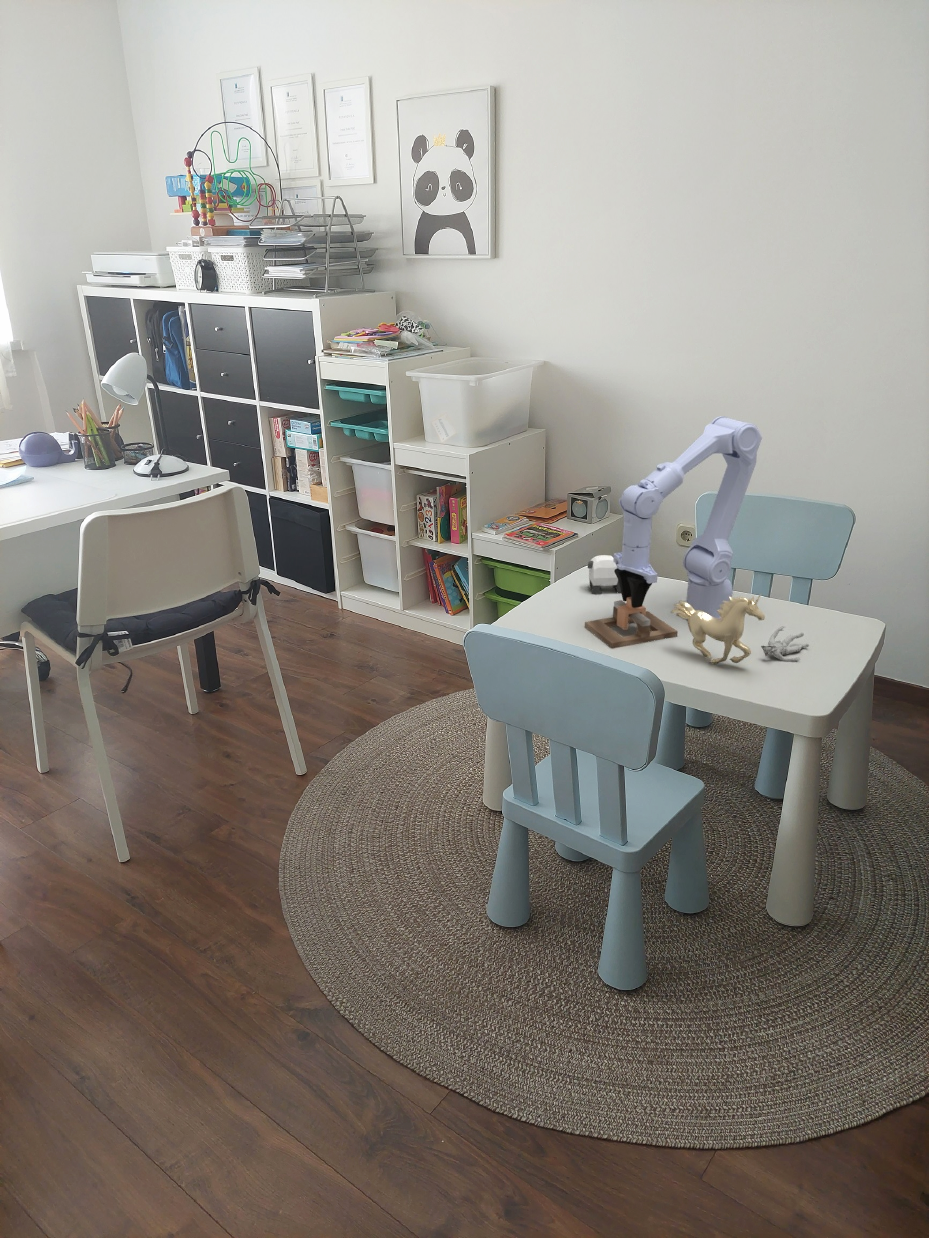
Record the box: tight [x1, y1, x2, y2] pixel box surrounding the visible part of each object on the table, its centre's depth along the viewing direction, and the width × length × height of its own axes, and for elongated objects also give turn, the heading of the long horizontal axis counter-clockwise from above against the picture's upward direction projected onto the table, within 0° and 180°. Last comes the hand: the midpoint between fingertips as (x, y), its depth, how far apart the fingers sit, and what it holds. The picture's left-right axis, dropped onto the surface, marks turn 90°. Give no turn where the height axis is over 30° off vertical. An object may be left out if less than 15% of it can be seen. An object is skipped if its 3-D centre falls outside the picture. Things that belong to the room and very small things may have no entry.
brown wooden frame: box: [584, 599, 679, 649], centre depth 193 cm, size 16×12×5 cm
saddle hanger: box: [617, 597, 647, 631], centre depth 192 cm, size 5×3×6 cm, turn 111°
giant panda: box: [587, 554, 622, 595], centre depth 215 cm, size 15×6×10 cm, turn 94°
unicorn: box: [670, 593, 766, 665], centre depth 177 cm, size 20×4×17 cm, turn 47°
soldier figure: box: [760, 625, 810, 662], centre depth 182 cm, size 8×5×12 cm
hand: (632, 603), depth 192 cm, fingers open, 3 cm apart
